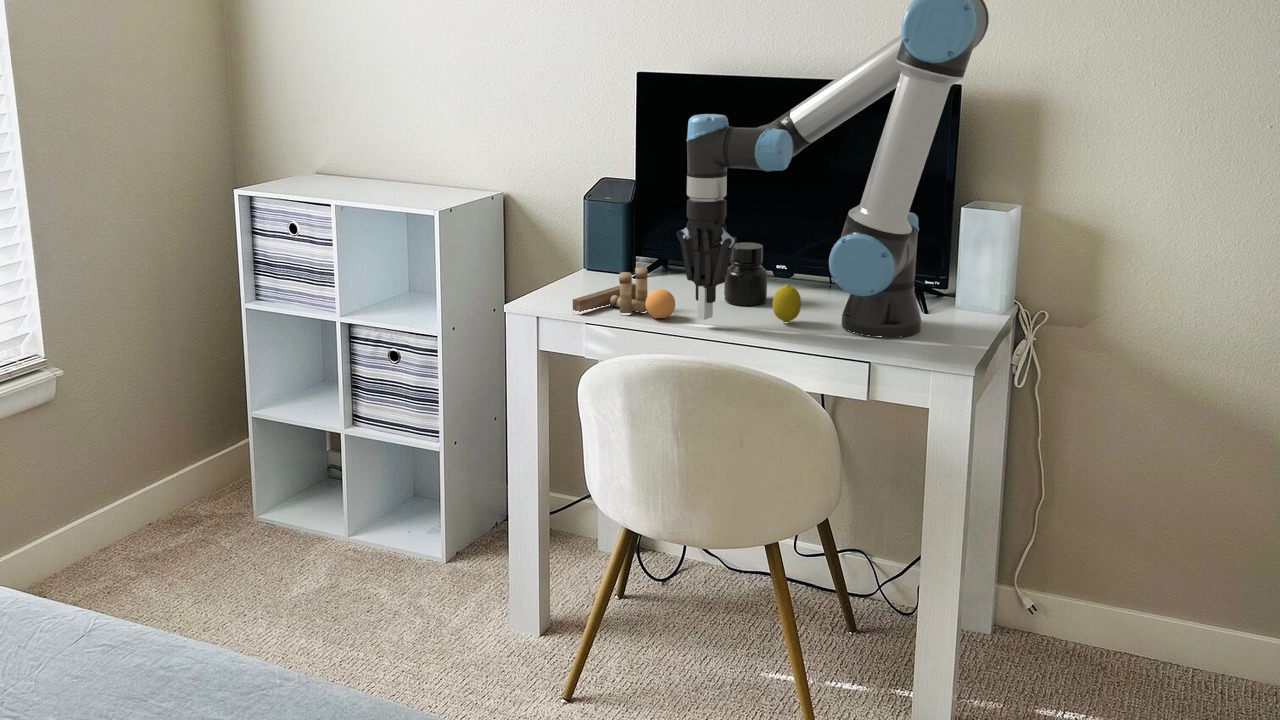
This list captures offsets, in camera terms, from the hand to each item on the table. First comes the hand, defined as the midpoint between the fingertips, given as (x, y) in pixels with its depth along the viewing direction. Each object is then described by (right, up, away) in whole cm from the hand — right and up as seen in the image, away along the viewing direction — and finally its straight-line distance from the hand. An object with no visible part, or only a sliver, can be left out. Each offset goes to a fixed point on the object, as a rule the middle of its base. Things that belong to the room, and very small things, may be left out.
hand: (705, 317), depth 228 cm
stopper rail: (-20, +3, +16) cm, 26 cm away
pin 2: (-12, +2, +14) cm, 19 cm away
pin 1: (-16, +1, +10) cm, 19 cm away
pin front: (-12, +2, +10) cm, 15 cm away
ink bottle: (+10, +4, +19) cm, 22 cm away
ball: (-9, +3, +6) cm, 11 cm away
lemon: (+16, -1, +3) cm, 16 cm away
